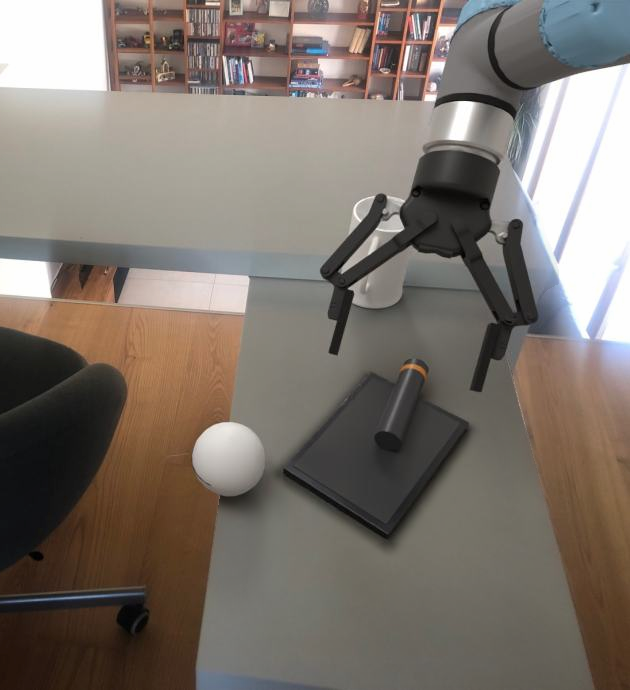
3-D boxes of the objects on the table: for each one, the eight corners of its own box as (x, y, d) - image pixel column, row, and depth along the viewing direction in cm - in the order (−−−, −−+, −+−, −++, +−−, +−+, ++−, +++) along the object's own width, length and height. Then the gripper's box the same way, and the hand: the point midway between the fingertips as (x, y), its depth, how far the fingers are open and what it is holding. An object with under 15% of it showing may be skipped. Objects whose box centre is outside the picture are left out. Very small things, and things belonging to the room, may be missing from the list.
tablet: (467, 428, 76) (469, 422, 75) (386, 540, 66) (388, 534, 65) (369, 377, 82) (371, 370, 81) (282, 473, 72) (283, 467, 71)
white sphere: (267, 457, 74) (272, 412, 68) (258, 516, 68) (263, 472, 63) (175, 442, 75) (173, 397, 70) (159, 499, 70) (157, 455, 65)
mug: (381, 332, 87) (401, 254, 79) (318, 309, 91) (330, 233, 82) (410, 281, 94) (431, 205, 86) (350, 262, 98) (365, 187, 89)
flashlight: (395, 455, 72) (422, 380, 80) (406, 439, 70) (433, 365, 78) (369, 441, 73) (399, 369, 81) (379, 426, 71) (409, 353, 78)
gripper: (590, 195, 67) (531, 406, 67) (335, 151, 74) (283, 342, 75) (615, 172, 60) (549, 409, 60) (330, 126, 67) (272, 337, 68)
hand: (401, 372), depth 67 cm, fingers open, 13 cm apart
